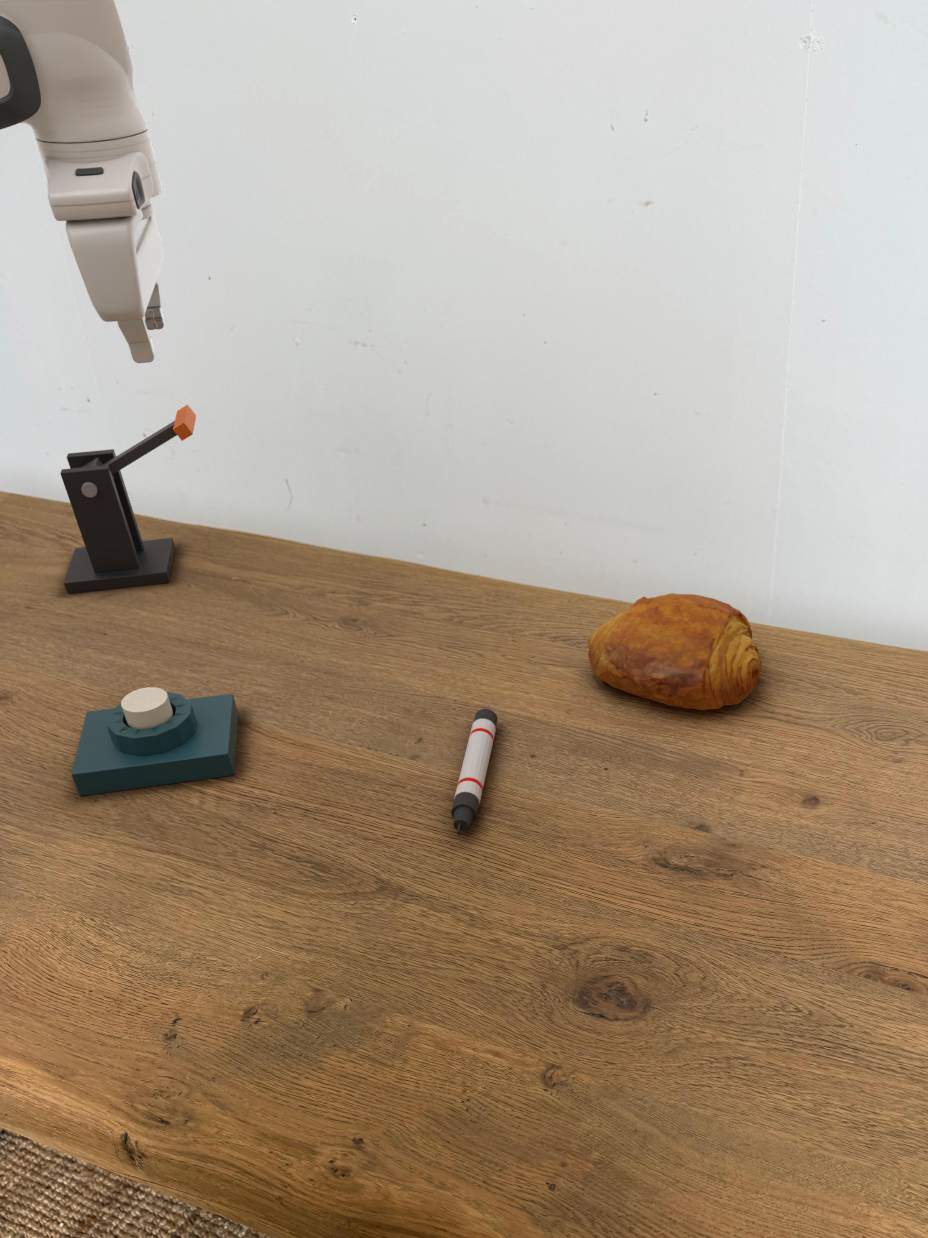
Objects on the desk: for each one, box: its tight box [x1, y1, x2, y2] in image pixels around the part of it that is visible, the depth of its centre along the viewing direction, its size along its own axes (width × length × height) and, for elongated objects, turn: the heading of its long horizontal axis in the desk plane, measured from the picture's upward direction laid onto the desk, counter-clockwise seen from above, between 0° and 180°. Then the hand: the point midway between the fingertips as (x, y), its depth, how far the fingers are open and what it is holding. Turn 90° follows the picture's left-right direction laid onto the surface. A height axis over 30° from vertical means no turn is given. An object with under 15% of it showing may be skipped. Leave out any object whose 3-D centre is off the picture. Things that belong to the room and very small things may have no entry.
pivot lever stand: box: [59, 448, 176, 595], centre depth 119 cm, size 10×8×12 cm
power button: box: [120, 686, 173, 729], centre depth 95 cm, size 4×4×2 cm
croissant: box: [587, 592, 762, 711], centre depth 104 cm, size 14×16×8 cm
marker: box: [451, 708, 498, 836], centre depth 94 cm, size 15×2×2 cm, turn 178°
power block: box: [70, 691, 240, 797], centre depth 97 cm, size 12×9×4 cm
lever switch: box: [82, 404, 197, 479], centre depth 116 cm, size 13×5×2 cm, turn 102°
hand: (151, 343), depth 108 cm, fingers open, 8 cm apart
